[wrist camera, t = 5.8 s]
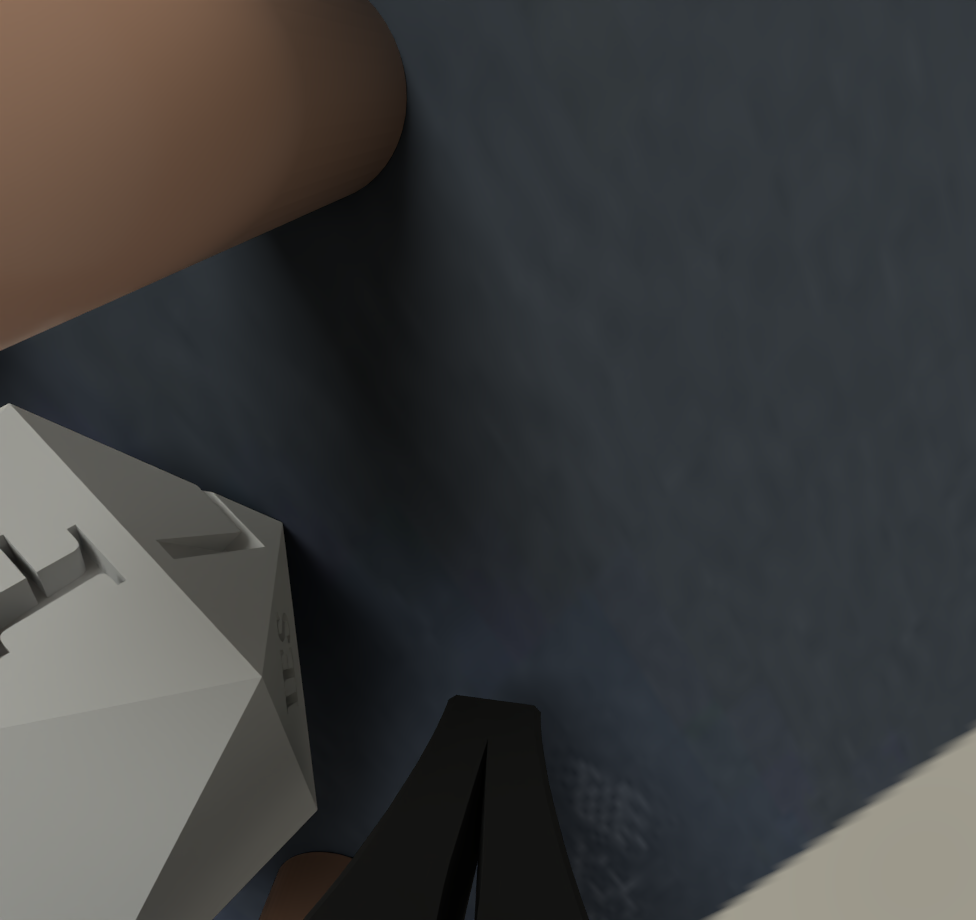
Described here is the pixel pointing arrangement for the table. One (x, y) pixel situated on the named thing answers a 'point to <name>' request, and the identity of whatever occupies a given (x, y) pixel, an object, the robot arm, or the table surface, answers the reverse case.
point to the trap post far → (302, 884)
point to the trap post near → (175, 136)
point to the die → (139, 686)
